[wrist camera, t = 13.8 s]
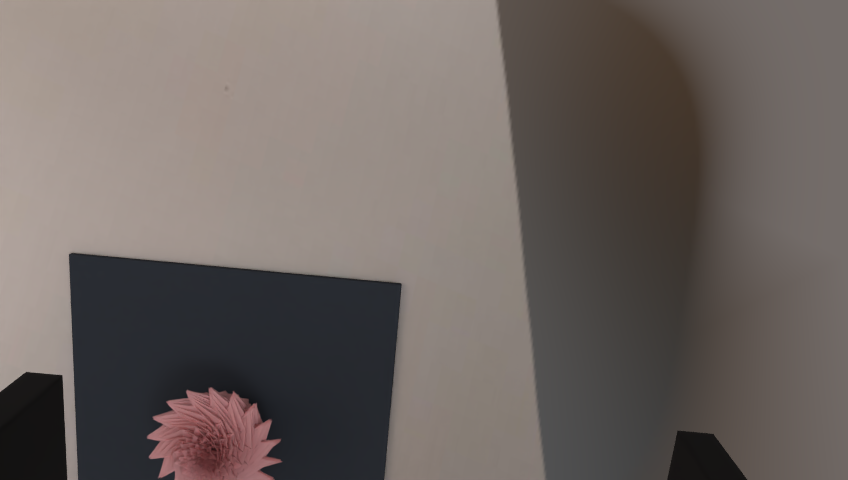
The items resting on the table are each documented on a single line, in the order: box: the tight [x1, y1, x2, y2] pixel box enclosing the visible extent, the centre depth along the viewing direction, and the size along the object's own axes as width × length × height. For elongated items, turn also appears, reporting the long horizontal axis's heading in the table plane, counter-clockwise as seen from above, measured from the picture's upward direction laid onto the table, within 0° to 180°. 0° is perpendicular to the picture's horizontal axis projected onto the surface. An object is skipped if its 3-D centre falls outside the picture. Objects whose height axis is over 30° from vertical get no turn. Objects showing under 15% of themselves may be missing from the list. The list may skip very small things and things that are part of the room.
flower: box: [147, 387, 282, 480], centre depth 41 cm, size 8×8×6 cm
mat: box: [69, 253, 401, 480], centre depth 44 cm, size 20×20×1 cm
